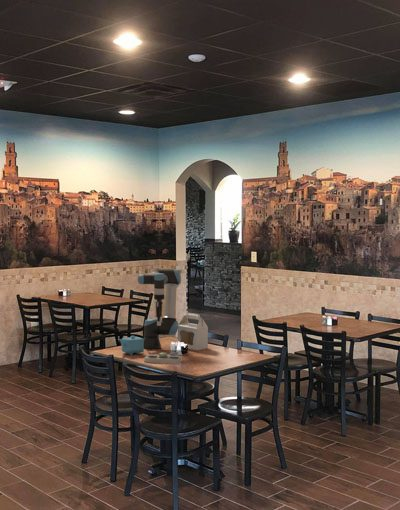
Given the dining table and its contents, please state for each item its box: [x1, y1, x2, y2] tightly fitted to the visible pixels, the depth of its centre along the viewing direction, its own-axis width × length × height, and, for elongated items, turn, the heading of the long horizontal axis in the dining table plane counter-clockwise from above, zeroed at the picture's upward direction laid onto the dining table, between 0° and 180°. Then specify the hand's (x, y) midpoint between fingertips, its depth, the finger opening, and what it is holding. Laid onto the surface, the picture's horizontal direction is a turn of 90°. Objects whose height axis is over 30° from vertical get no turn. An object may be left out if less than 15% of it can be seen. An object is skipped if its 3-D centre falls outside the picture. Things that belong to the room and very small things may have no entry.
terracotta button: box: [147, 350, 158, 355], centre depth 466 cm, size 6×6×2 cm
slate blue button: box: [169, 351, 179, 356], centre depth 464 cm, size 6×6×2 cm
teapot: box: [117, 335, 145, 356], centre depth 490 cm, size 22×11×14 cm, turn 123°
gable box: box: [177, 311, 209, 351], centre depth 520 cm, size 22×13×28 cm, turn 46°
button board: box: [143, 354, 183, 365], centre depth 465 cm, size 12×25×3 cm, turn 80°
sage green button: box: [158, 352, 168, 356], centre depth 465 cm, size 6×6×2 cm
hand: (158, 325), depth 479 cm, fingers closed
